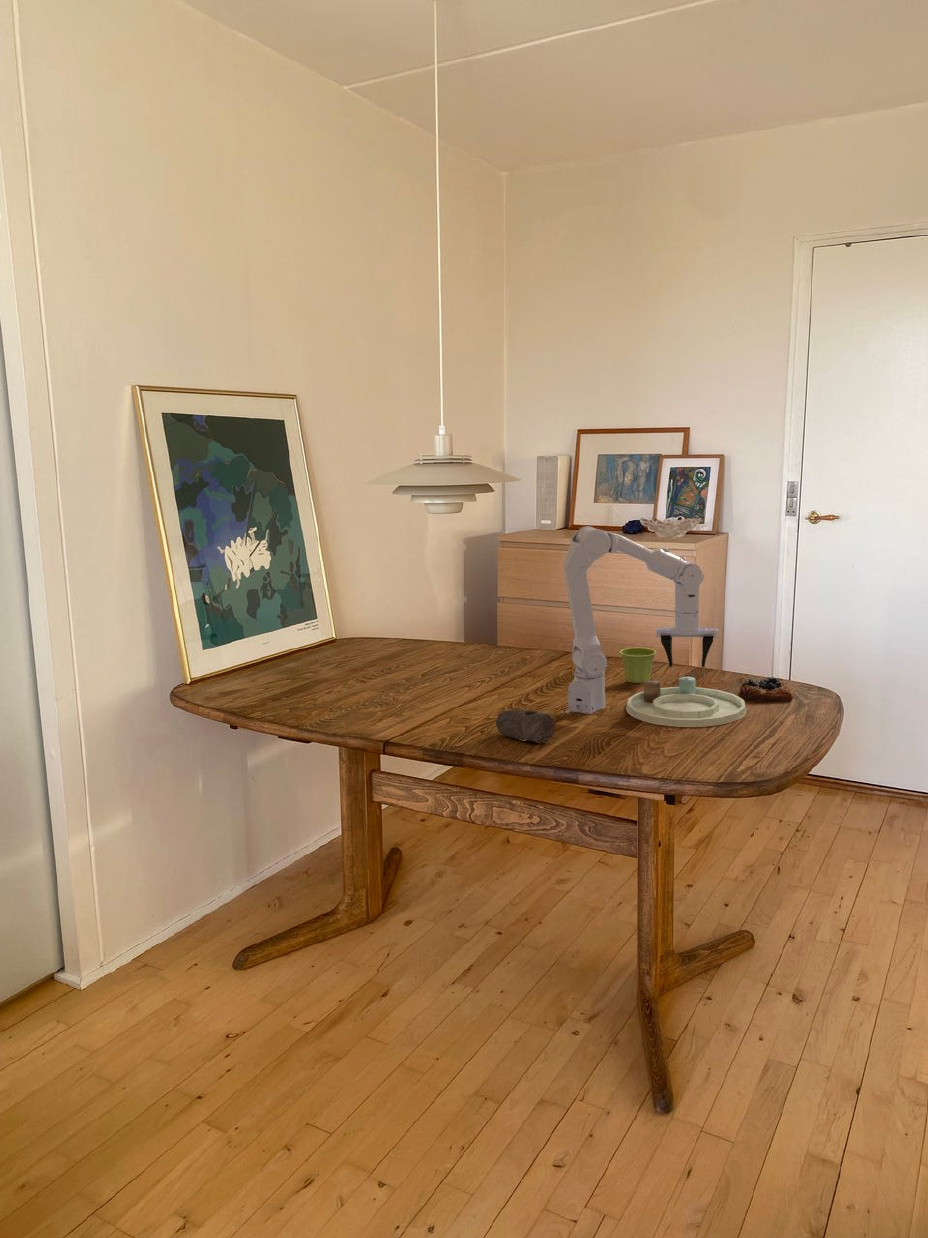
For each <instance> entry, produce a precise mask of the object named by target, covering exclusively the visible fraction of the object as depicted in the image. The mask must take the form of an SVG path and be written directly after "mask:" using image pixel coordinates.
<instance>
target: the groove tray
mask: <svg viewBox="0 0 928 1238" xmlns="http://www.w3.org/2000/svg"><path fill="white" fill-rule="evenodd" d="M625 709H626V712H627V714H629V716H631V717H633V718H634V719H637V720H639V721H642V722H645V723H649V724H654V725H658V726H659V725H661V726H667V727H677V728H678V727H680V728H682V727H683V728H700V727H701V728H703V727H712V726H719V725H724V724H728V723H732V722H735V721H738V720H740V719H742V718H743V717H744V716H746V713H747V708H746V702H745V700H744V699H743V698H742V697H741V696H738V695H736V694H734V693H731V692H727V691H724V690H719V689H715V688H707V687H706V688H705V687H698V686H695V694H679V686H669V687H660V697H658V698H656V699H655V700H653V703H647V702H644V690H643V691H639V692H637V693H635V694H634V695H632V696H630V697H628V698H627V704H626V707H625Z"/></svg>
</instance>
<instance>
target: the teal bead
mask: <svg viewBox="0 0 928 1238" xmlns="http://www.w3.org/2000/svg"><path fill="white" fill-rule="evenodd" d="M678 687H679V694H695V687H696V677H692V676H681V677H679V678H678Z"/></svg>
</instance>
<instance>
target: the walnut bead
mask: <svg viewBox="0 0 928 1238" xmlns="http://www.w3.org/2000/svg"><path fill="white" fill-rule="evenodd" d="M660 688H661V681H658V680H650V681H645V682H644V683H643V691H644V702H647V703H653V700H655V699H656V698H658V697H660Z"/></svg>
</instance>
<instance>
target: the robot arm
mask: <svg viewBox="0 0 928 1238" xmlns="http://www.w3.org/2000/svg"><path fill="white" fill-rule="evenodd" d="M617 552H621V553H623V554H625V555H628V556H630V557H632V558H635V559H638V560H640V561H641V562H644V563H645V565H646V568H647V570H648V571H651V572H653V573H655V574H657V575H659V576H661V577H664V578H666V579H668V580H671V581H673V582H674V586H675V588H674V627H673V626H671V627H656V631H655V632H656V635H655V637H656V638H660V643H661V644H662V647H663V649H664V651H665V655H666V657H667V660H668V667H670V668H672V667H673V665H674V664H673V663H674V662H673V638H702V645H701V646H702V647H701V648H702V655H701V668H705V667H706V666H705V665H706V660H707V657H708V654H709V651H710V648H711V646H712V645H713V642H714V639H718V638H719V629H718V628H709V627H700V586H701V585H702V583H703V581H704V577H705V574H703V571H702V569H701V567H700V566H699V565H698V564H697V563H696V564H695V563H692V562H690V561H687V557H685V556H677V555H676V554H674V553H671V552H670V549H669V548H666V547H662V548H660V547H657V548H654V549H648V548H647V547H645V546H643V545H641V544H639V543H637V542H634V541H633V540H631V539H629V538H627V537H625V536H623V535H620V534H618V533H614V532H611V531H608V530H607V531H606V530H603V529H601V528H600V529H599V528H595V527H594V526H588V525H586V526H585V525H584V526H583V527H580V528H579V529H578V530H577V531H576V532H575V533H574V535H572V537H571V538H570V544H569V547H568V551H567V553H566V555H565V558H564V560H563V566H562V567H563V572H564V579H565V585H566V592H567V598H568V604H569V609H570V616H571V622H572V627H573V633H574V638H573V640H572V644H573V646H572V647H573V649H572V652H571V661H572V663H573V665H574V666H575V670H574V671H573V673H574V674H573V676H574V677H573V680H572V681H571V682H570V683H569V685H568V688H567V702H568V709H567V710H565V712H564V713H565V714H569V713H571V712H576V713H580V714H589V715H591V714H593V713H595V712H596V711H600V710H603V709H605V707H606V694H605V693H606V687H605V686H606V685H605V683H606V681H605V679H606V677H605V671H606V669H607V667H608V659H607V657H606V655H605V654H604V653H603V651H602V647H601V646H602V645H601V643H600V640H599V638H598V637H597V632H596V626H595V620H594V613H593V608H592V607H593V606H592V600H591V593H590V588H589V581H588V576H587V570H588V569H590V567H591V566H592V564H593V563H594V562H595V561H597V560H599V559H600V558H602V557H604V556H605V555H606V554H607V553H610V554H612V553H617Z"/></svg>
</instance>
